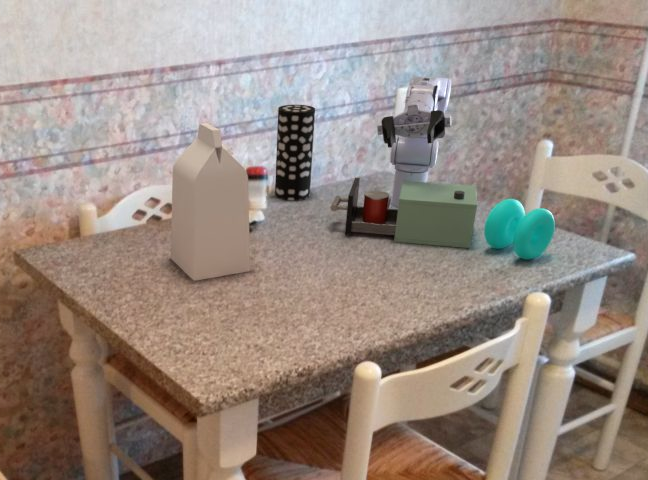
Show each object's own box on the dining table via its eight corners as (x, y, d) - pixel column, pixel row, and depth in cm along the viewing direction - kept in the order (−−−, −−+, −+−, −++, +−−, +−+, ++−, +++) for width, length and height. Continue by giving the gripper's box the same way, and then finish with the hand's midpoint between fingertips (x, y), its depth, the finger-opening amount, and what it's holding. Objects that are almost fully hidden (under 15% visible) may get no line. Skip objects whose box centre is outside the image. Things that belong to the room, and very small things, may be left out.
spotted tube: (273, 199, 191) (276, 111, 181) (276, 189, 198) (280, 104, 188) (308, 201, 190) (314, 113, 180) (310, 190, 197) (316, 105, 187)
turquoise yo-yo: (510, 240, 167) (519, 193, 162) (551, 255, 160) (563, 206, 155) (477, 250, 163) (485, 201, 157) (518, 266, 155) (529, 216, 150)
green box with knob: (397, 221, 178) (403, 174, 173) (469, 227, 174) (477, 180, 169) (394, 241, 167) (399, 193, 162) (469, 248, 164) (478, 198, 158)
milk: (170, 258, 159) (166, 122, 146) (224, 249, 163) (225, 116, 150) (193, 280, 150) (192, 137, 137) (250, 271, 154) (253, 130, 140)
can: (362, 217, 175) (365, 190, 172) (386, 219, 174) (390, 191, 171) (360, 225, 171) (363, 197, 168) (385, 227, 170) (388, 199, 167)
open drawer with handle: (334, 213, 181) (337, 176, 176) (420, 220, 176) (425, 182, 172) (327, 233, 170) (330, 194, 165) (417, 241, 166) (423, 201, 161)
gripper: (379, 100, 170) (369, 125, 160) (451, 91, 165) (446, 116, 155) (383, 132, 174) (373, 158, 164) (453, 125, 169) (448, 151, 159)
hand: (409, 140), depth 160 cm, fingers open, 7 cm apart
